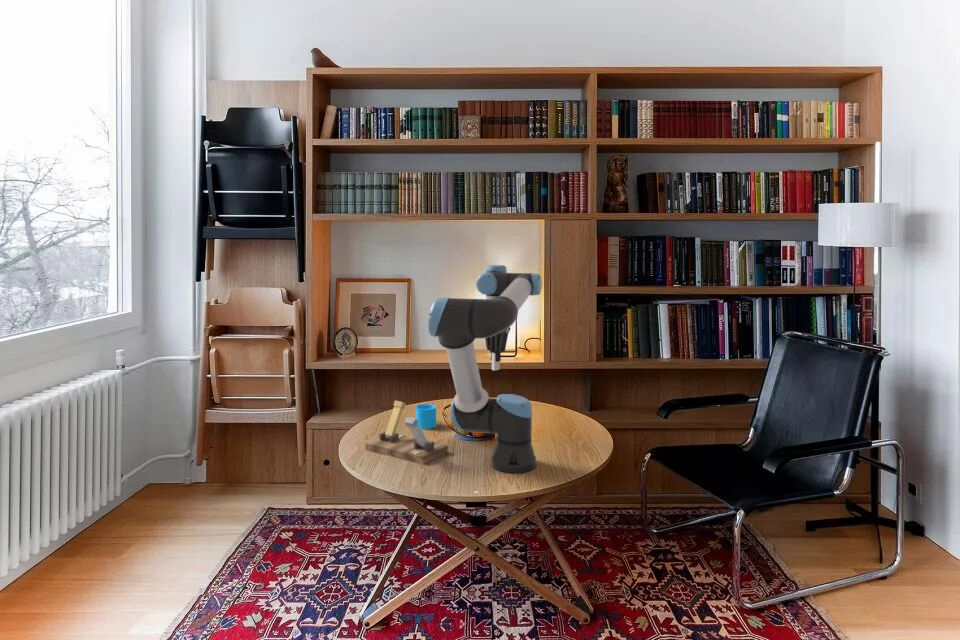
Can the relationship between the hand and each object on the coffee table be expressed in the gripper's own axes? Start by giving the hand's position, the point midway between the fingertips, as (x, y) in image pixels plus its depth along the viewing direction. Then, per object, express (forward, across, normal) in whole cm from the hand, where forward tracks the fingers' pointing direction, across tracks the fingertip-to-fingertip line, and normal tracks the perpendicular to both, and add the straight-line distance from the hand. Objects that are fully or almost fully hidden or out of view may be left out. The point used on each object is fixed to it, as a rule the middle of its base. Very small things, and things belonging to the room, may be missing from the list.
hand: (495, 369), depth 243 cm
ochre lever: (+23, +18, +36) cm, 46 cm away
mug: (+27, +30, +10) cm, 41 cm away
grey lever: (+23, +2, +32) cm, 39 cm away
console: (+26, +10, +34) cm, 44 cm away
